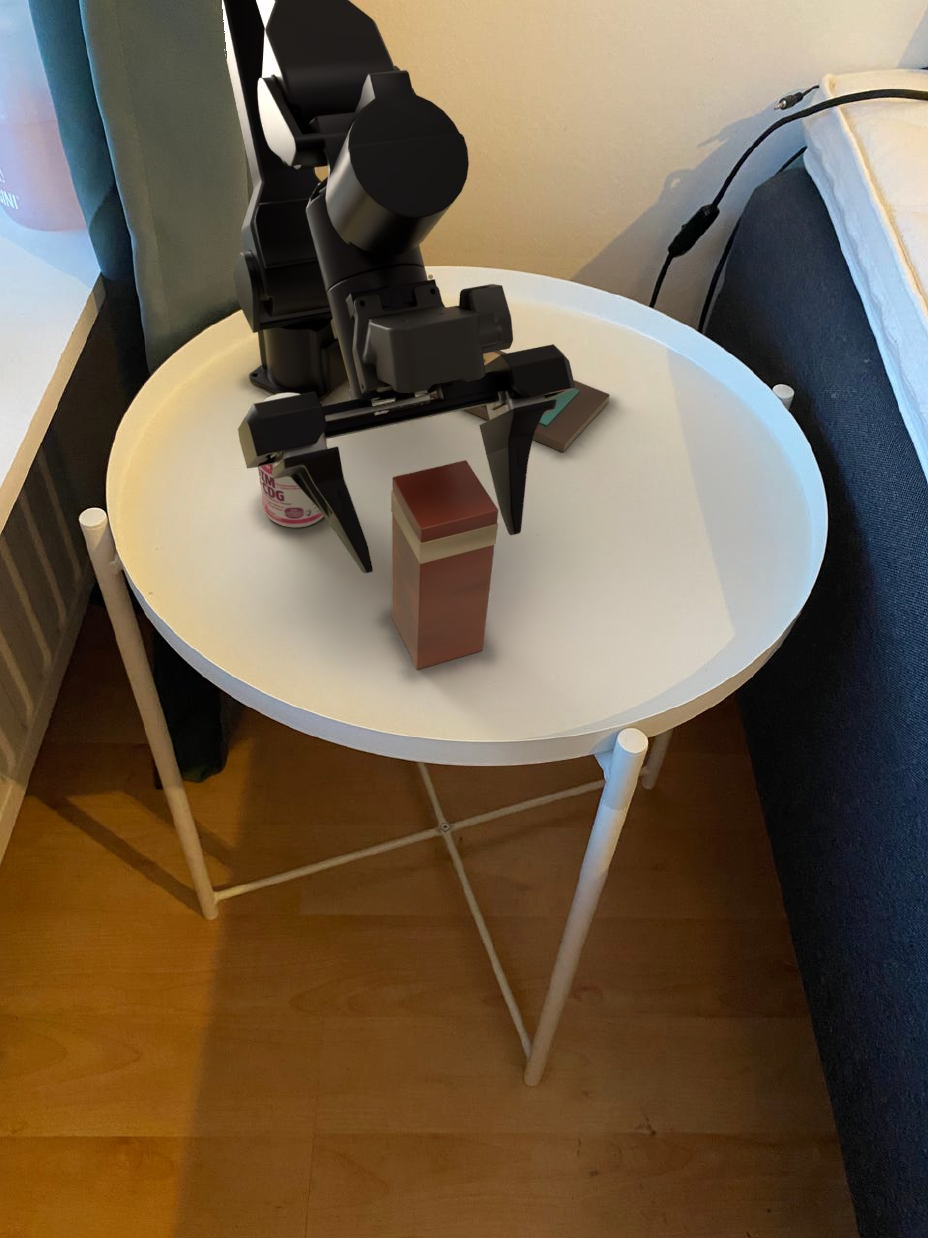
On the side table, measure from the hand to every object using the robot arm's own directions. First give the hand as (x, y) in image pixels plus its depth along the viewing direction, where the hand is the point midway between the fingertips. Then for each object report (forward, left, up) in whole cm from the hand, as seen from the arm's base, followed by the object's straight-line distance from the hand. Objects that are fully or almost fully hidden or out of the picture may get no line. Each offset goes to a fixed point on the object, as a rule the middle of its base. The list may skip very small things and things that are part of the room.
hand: (443, 553), depth 56 cm
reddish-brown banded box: (0, 0, -8) cm, 8 cm away
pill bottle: (-15, +5, -8) cm, 17 cm away
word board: (-11, +25, -8) cm, 29 cm away
